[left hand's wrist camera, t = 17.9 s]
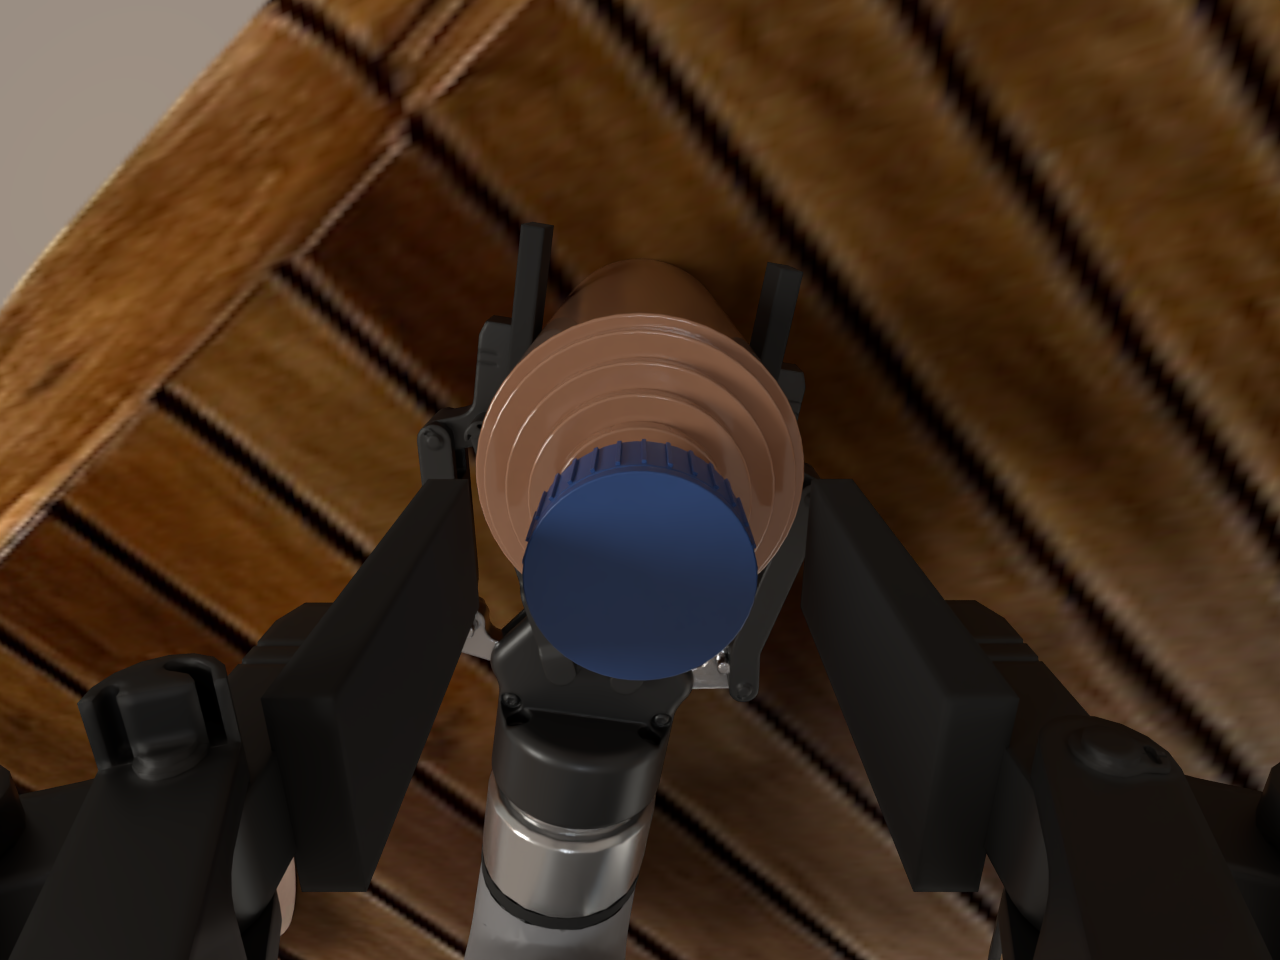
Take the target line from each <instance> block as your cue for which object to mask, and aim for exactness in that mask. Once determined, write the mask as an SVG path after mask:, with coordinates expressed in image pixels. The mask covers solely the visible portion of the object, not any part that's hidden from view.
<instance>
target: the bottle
mask: <svg viewBox="0 0 1280 960" xmlns="http://www.w3.org/2000/svg"><path fill="white" fill-rule="evenodd" d="M642 439H646V441H650V442H657V443H664V444H666V442H669V443H671V446H675V447H678V448H680V449H683V450H685V451H689V450H691V451H693V453H694V455H695V456H697V457H699V458H701V459H702V460H704V461H705V462H706V463H708V464H709V463H710V462H711V463H712V464H713V466H714V469H715V470H716V471H717V472H718V473H719V474H720V475H721V476H722V477H723V478H724V480H725V479H726V478H727V479H728V480H729V482H730V485H731V488H732V491H733V493H734V495H735V496H736V498H738V497H740V499H741V502H742V505H743V508H744V511H745V514H746V517H747V520H748V523H749V526H750V529H751V532H752V535H753V538H754V541H755V544H756V548H755V549H754V551H755V556H756V560H757V566H758V574H759V573H760V572H761V571H762V570H763V569H764V568H765V567H766V565H767V564H768V563H769V562H770V560H771V559H772V558H773V557H774V555H775V554H776V553H777V552H778V550H779V548H780V547H781V545H782V543H783V542H784V540H785V538H786V537H787V535H788V533H789V531H790V528H791V526H792V524H793V522H794V519H795V517H796V514H797V510H798V507H799V503H800V500H801V495H802V488H803V481H804V453H803V446H802V439H801V434H800V431H799V427H798V424H797V420H796V417H795V415H794V412H793V410H792V408H791V406H790V403H789V401H788V399H787V397H786V395H785V394H784V392H783V391H782V389H781V387H780V386H779V384H778V383H777V381H776V380H775V378H774V377H773V376H772V374H771V373H770V372H769V370H768V369H767V368H766V366H765V365H764V364H763V362H762V361H761V360H760V359H759V357H758V356H757V355H756V353H755V352H754V351H753V349H752V348H751V347H750V345H749V344H748V343H747V341H746V340H745V339H744V338H743V336H742V335H741V334H740V332H739V331H738V330H737V328H736V327H735V326H734V324H733V323H732V322H731V320H730V319H729V318H728V317H727V315H726V314H725V313H724V311H723V310H722V309H721V307H720V306H719V305H718V303H717V302H716V301H715V299H714V298H713V297H712V296H711V294H710V293H709V292H708V291H707V289H706V288H705V287H704V286H703V285H702V284H701V283H700V282H699V281H698V280H697V279H695V278H694V277H693V276H691V275H690V274H688V273H687V272H686V271H684V270H682V269H680V268H678V267H676V266H674V265H671V264H668V263H665V262H662V261H657V260H652V259H628V260H623V261H619V262H615V263H612V264H609V265H606V266H604V267H602V268H600V269H598V270H596V271H594V272H593V273H592V274H590V275H589V276H587V277H586V278H584V279H583V280H582V281H581V282H580V283H579V284H578V285H577V286H576V287H575V288H574V289H573V291H572V292H571V293H570V294H569V296H568V297H567V298H566V300H565V301H564V302H563V304H562V305H561V306H560V307H559V309H558V310H557V311H556V313H555V314H554V315H553V317H552V318H551V319H550V321H549V322H548V323H547V325H546V326H545V327H544V328H543V330H542V331H541V332H540V334H539V335H538V336H537V338H536V339H535V340H534V342H533V343H532V344H531V346H530V347H529V348H528V350H527V351H526V352H525V353H524V355H523V356H522V357H521V359H520V360H519V361H518V363H517V364H516V365H515V367H514V368H513V369H512V371H511V372H510V373H509V374H508V376H507V377H506V378H505V380H504V381H503V383H502V384H501V386H500V388H499V389H498V391H497V392H496V394H495V396H494V397H493V399H492V401H491V403H490V406H489V408H488V410H487V413H486V415H485V417H484V420H483V424H482V428H481V431H480V435H479V439H478V446H477V455H476V481H477V488H478V494H479V500H480V503H481V507H482V510H483V513H484V516H485V519H486V522H487V524H488V526H489V528H490V530H491V533H492V535H493V537H494V538H495V540H496V542H497V543H498V545H499V546H500V548H501V550H502V551H503V553H504V554H505V556H506V557H507V558H508V559H509V560H510V562H511V563H512V564H513V565H514V566H515V568H516V569H517V570H518V571H519V572H520V573H521V574H522V571H523V564H522V559H523V556H524V553H525V550H526V547H527V544H528V542H527V541H525V540H526V536H527V534H528V531H529V528H530V525H531V522H532V519H533V516H534V513H535V511H537V509H538V506H539V503H540V500H541V497H542V494H543V492H544V491H546V492H547V491H548V490H549V488H550V486H551V485H552V484H553V482H554V479H555V475H556V474H557V473H559V474H561V473H562V472H563V471H564V470H565V469H566V468H567V467H569V466H570V465H571V464H572V461H573V460H574V459H575V458H577V459H579V458H581V457H583V456H585V455H587V454H589V453H590V452H592V451H593V450H594V448H596V447H598V448H599V449H600V448H603V447H605V446H609V445H613V444H617V441H622V443H623V442H632V441H642Z"/></svg>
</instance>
